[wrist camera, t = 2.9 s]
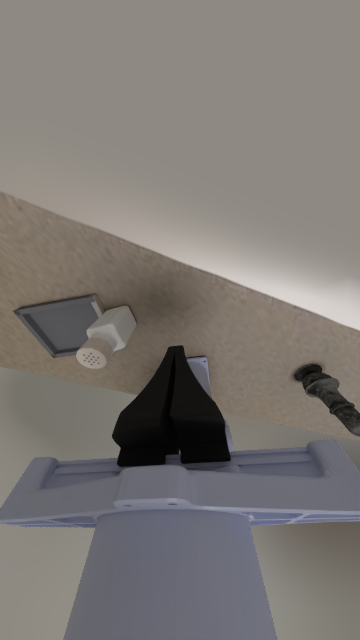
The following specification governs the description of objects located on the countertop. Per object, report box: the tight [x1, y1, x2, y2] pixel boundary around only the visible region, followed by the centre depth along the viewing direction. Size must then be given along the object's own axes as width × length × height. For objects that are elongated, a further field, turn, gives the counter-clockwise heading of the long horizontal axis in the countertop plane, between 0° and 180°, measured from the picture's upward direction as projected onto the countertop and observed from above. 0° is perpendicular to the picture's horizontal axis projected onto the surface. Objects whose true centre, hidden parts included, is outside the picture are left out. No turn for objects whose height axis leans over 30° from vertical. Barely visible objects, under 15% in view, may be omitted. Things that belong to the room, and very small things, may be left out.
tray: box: [13, 294, 105, 358], centre depth 24 cm, size 10×13×1 cm
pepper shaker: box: [76, 306, 136, 369], centre depth 19 cm, size 4×4×10 cm
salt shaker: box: [294, 364, 360, 436], centre depth 25 cm, size 6×6×12 cm
